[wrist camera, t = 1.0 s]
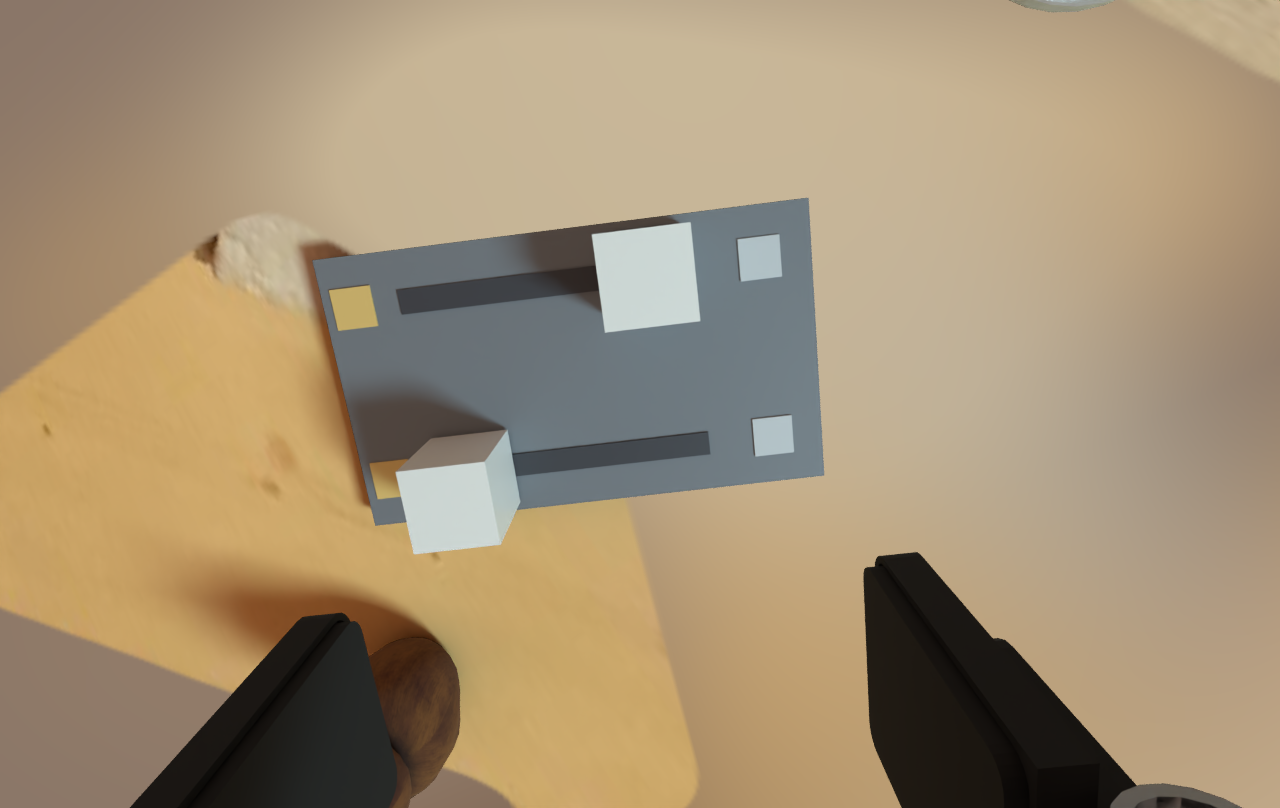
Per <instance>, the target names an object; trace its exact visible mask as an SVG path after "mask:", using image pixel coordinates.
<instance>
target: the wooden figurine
mask: <svg viewBox="0 0 1280 808" xmlns="http://www.w3.org/2000/svg"><path fill="white" fill-rule="evenodd" d="M369 661H370V665H371V668H372V672H373V676H374V680H375V684H376V688H377V692H378V696H379V700H380V704H381V708H382V712H383V716H384V719H385V723H386V727H387V731H388V735H389V739H390V743H391V747H392V751H393V755H394V759H395V763H396V767H397V786H396V791H395V794H394V797H393V799H392V802H391V804H390V806H389V808H408V806H409V803H410V799H411V798H412V797H414V796H415V795H417V794H418V793H420V792H421V791H423V790H424V789H425V788H427V787H428V786H429V785H430V783H432V782H433V781H434V779H435V778H436V777H437V775H438V773H439V771H440V770H441V768H442V767H443V765H444V763H445V762H446V760H447V758H448V757H449V755H450V753H451V752H452V750H453V748H454V746H455V743H456V740H457V737H458V735H459V727H460V686H459V678H458V673H457V668H456V666H455V664H454V663H453V661H452V659H451V657H450V656H449V654H448V653H447V652H446V651H445V650H444V649H443V648H442V647H441V646H440V645H439V644H437V643H435V642H433V641H431V640H429V639H427V638H414V637H411V638H406V639H401V640H397V641H395V642H392V643H390V644H388V645H386V646H385V647H383V648H382V649H380V650H378V651H377V652H375V653H374V654H372V655H371V656H369Z"/></svg>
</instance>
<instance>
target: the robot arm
mask: <svg viewBox="0 0 1280 808" xmlns="http://www.w3.org/2000/svg"><path fill="white" fill-rule="evenodd" d="M1010 1H1012V2H1015V3H1017V4H1019V5H1022V6H1024V7H1027V8H1032V9H1037V10H1042V11H1048V12H1072V11H1081V10H1085V9H1090V8H1094V7H1098V6H1102V5H1105V4H1108V3H1110V2H1112V1H1114V0H1010ZM864 602H865V625H866V650H867V674H868V696H869V721H870V729H871V735H872V739H873V742H874V746H875V749H876V751H877V753H878V756H879V758H880V760H881V762H882V765H883V767H884V769H885V771H886V774H887V776H888V778H889V780H890V783H891V785H892V787H893V789H894V791H895V794H896V796H897V798H898V801H899V803H900V805H901V807H902V808H1242V807H1240V806H1238V805H1235V804H1234V803H1231V802H1230V801H1228V800H1226V799H1224V798H1221V797H1218V796H1215V795H1212V794H1209V793H1206V792H1203V791H1200V790H1197V789H1194V788H1189V787H1182V786H1177V785H1170V784H1146V785H1138V786H1137V785H1136V784H1135V783H1134V782H1133V781H1132V780H1131V779H1130V778H1129V776H1128V775H1127V774H1126V773H1125V772H1124V771H1123V770H1122V769H1121V767H1120V766H1119V765H1118V764H1117V763H1116V762H1115V761H1114V760H1113V759H1112V757H1111V756H1110V755H1109V754H1108V753H1107V752H1106V751H1105V750H1104V748H1103V747H1102V746H1101V745H1100V744H1099V743H1098V742H1097V741H1096V740H1095V738H1094V737H1093V736H1092V735H1091V734H1090V733H1089V732H1088V730H1087V729H1086V728H1085V727H1084V726H1083V725H1082V724H1081V723H1080V721H1079V720H1078V719H1077V718H1076V717H1075V716H1074V715H1073V714H1072V712H1071V711H1070V710H1069V709H1068V708H1067V707H1066V706H1065V705H1064V704H1063V703H1062V701H1061V700H1060V699H1059V698H1058V697H1057V696H1056V695H1055V693H1054V692H1053V691H1052V690H1051V689H1050V688H1049V687H1048V686H1047V684H1046V683H1045V682H1044V681H1043V680H1042V679H1041V678H1040V677H1039V676H1038V674H1037V673H1036V672H1035V671H1034V670H1033V669H1032V668H1031V667H1030V665H1029V664H1028V663H1027V662H1026V661H1025V660H1024V659H1023V658H1022V656H1021V655H1020V654H1019V653H1018V652H1017V651H1016V650H1015V649H1014V648H1013V646H1011V645H1010V644H1009V643H1008V642H1007V641H1006V640H1003V639H999V638H995V639H993V638H992V637H991V636H990V635H989V634H988V632H987V631H986V630H985V629H984V628H983V627H982V626H981V624H980V623H979V622H978V621H977V620H976V619H975V617H974V616H973V615H972V614H971V613H970V612H969V610H968V609H967V608H966V607H965V606H964V605H963V603H962V602H961V601H960V600H959V599H958V598H957V596H956V595H955V594H954V593H953V592H952V591H951V589H950V588H949V587H948V586H947V585H946V584H945V583H944V582H943V580H942V579H941V578H940V577H939V576H938V574H937V573H936V572H935V571H934V570H933V569H932V567H931V566H930V565H929V564H928V563H927V561H925V559H924V558H923V557H922V556H921V555H920V554H919V553H918V552H915V553H904V554H895V555H886V556H878V557H877V559H876V562H875V567H867V568H865V569H864ZM396 786H397V767H396V763H395V759H394V755H393V751H392V747H391V743H390V739H389V735H388V731H387V727H386V723H385V719H384V716H383V712H382V708H381V704H380V700H379V696H378V692H377V688H376V684H375V680H374V676H373V672H372V668H371V665H370V661H369V657H368V653H367V649H366V645H365V641H364V637H363V633H362V630H361V627H360V625H359V624H358V623H357V622H355V621H352V622H350V620H349V618H348V617H347V616H346V615H345V614H343V613H335V614H325V615H316V616H307V617H302V618H301V619H300V620H298V621H297V622H296V624H295V625H294V626H293V627H292V628H291V629H290V630H289V631H288V632H287V634H286V635H285V636H284V637H283V638H282V639H281V640H280V641H279V642H278V644H277V645H276V646H275V647H274V648H273V649H272V650H271V651H270V652H269V654H268V655H267V656H266V657H265V658H264V659H263V660H262V661H261V662H260V664H259V665H258V666H257V667H256V668H255V669H254V670H253V671H252V672H251V674H250V675H249V676H248V677H247V678H246V679H245V680H244V681H243V682H242V684H241V685H240V686H239V687H238V688H237V689H236V690H235V691H234V692H233V694H232V695H231V696H230V697H229V698H228V699H227V700H226V701H225V703H224V704H223V705H222V706H221V707H220V708H219V709H218V710H217V711H216V712H215V714H214V715H213V716H212V717H211V718H210V719H209V720H208V721H207V723H206V724H205V725H204V726H203V727H202V728H201V729H200V730H199V731H198V732H197V734H196V735H195V736H194V737H193V738H192V739H191V740H190V741H189V742H188V744H187V745H186V746H185V747H184V748H183V749H182V750H181V751H180V752H179V754H178V755H177V756H176V757H175V758H174V759H173V760H172V761H171V763H170V764H169V765H168V766H167V767H166V768H165V769H164V770H163V771H162V773H161V774H160V775H159V776H158V777H157V778H156V779H155V780H154V782H152V784H151V785H150V786H149V787H148V788H147V789H146V790H145V791H144V792H143V794H142V795H141V796H140V797H139V798H138V799H137V800H136V801H135V802H134V804H133V805H132V806H131V807H130V808H389V806H390V804H391V802H392V799H393V797H394V794H395V791H396Z"/></svg>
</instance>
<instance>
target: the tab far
mask: <svg viewBox="0 0 1280 808" xmlns="http://www.w3.org/2000/svg"><path fill="white" fill-rule="evenodd" d="M396 477H397V481H398V486H399V490H400V494H401V499H402V503H403V508H404V512H405V517H406V521H407V526H408V530H409V535H410V539H411V543H412V548H413V552H414V554H421V553H430V552H439V551H448V550H457V549H466V548H475V547H484V546H494V545H501V542H502V540H503V538H504V536H505V534H506V532H507V530H508V527H509V525H510V523H511V521H512V519H513V517H514V515H515V512H516V510H517V508H518V506H519V504H520V497H519V491H518V486H517V480H516V474H515V469H514V463H513V458H512V452H511V446H510V441H509V435H508V430H499V431H491V432H482V433H473V434H465V435H456V436H448V437H439V438H431V439H430V440H429V441H428V442H427V443H426V444H424V445H423V446H422V447H421V448H420V449H419V450H418V451H417V452H416V453H415V454H414V455H413V456H412V457H411V458H410V459H409V460H408V461H406V462H405V463H404V464H403V465H402V466H401V467H400V468H399V469H398V470H397V471H396Z"/></svg>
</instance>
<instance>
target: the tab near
mask: <svg viewBox="0 0 1280 808" xmlns="http://www.w3.org/2000/svg"><path fill="white" fill-rule="evenodd" d="M592 240H593V248H594V255H595V262H596V270H597V277H598V285H599V292H600V299H601V307H602V314H603V322H604V329H605V333H607V332H615V331H623V330H632V329H640V328H648V327H656V326H665V325H673V324H681V323H690V322H698V321H700V312H699V302H698V292H697V282H696V272H695V261H694V251H693V241H692V231H691V222H687V223H679V224H671V225H663V226H655V227H647V228H639V229H631V230H623V231H615V232H608V233H600V234H592Z"/></svg>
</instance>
